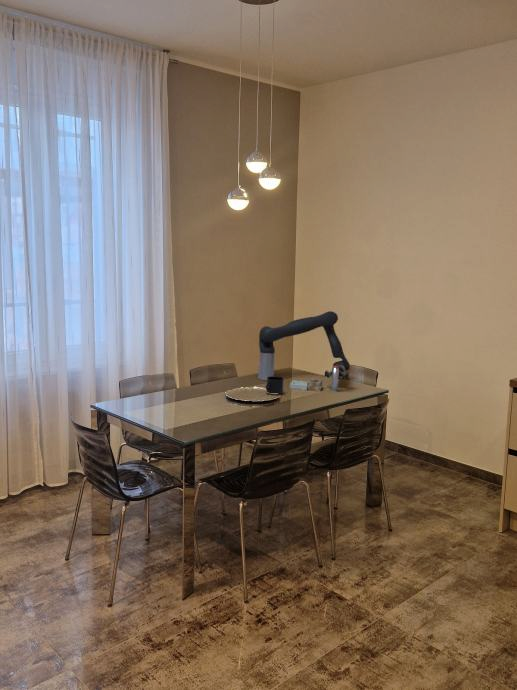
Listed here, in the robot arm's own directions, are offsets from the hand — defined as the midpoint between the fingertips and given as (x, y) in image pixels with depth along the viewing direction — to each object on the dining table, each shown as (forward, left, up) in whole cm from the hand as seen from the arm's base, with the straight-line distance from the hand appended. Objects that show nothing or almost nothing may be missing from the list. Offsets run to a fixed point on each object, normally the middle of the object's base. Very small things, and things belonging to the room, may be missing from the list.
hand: (335, 376), depth 369 cm
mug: (-33, -20, -9) cm, 40 cm away
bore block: (-12, 0, -9) cm, 15 cm away
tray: (-21, 0, -9) cm, 23 cm away
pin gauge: (0, 0, -9) cm, 9 cm away
